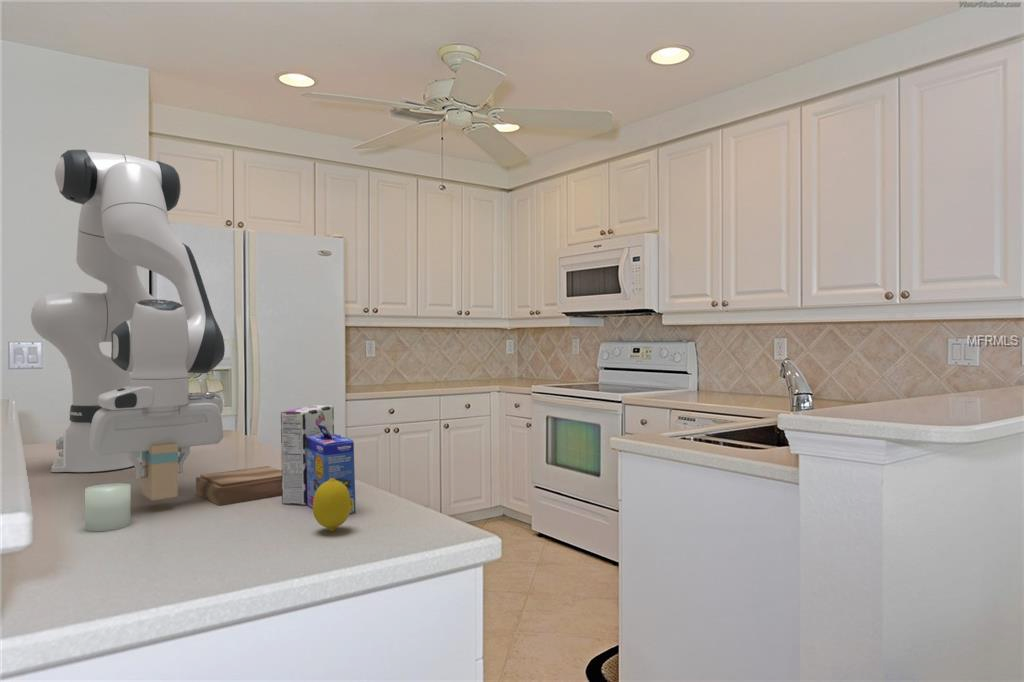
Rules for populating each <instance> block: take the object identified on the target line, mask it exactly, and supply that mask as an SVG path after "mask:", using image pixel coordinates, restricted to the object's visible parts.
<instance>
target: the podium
mask: <svg viewBox="0 0 1024 682" xmlns="http://www.w3.org/2000/svg"><path fill="white" fill-rule="evenodd" d="M195 494H196V495H198V496H200V497H201V498H204V499H206V500H207V501H210V502H211V503H213V504H215V505H217V506H226V505H231V504H236V503H237V504H238V503H242V502H243V503H244V502H249V501H255V500H261V499H267V498H273V497H282V469H277V468H275V467H272V466H269V465H267V466H259V467H257V466H256V467H251V468H243V469H237V470H228V471H221V472H213V473H205V474H204V473H203V474H200V476H198V477H195Z"/></svg>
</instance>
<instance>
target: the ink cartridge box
mask: <svg viewBox="0 0 1024 682" xmlns="http://www.w3.org/2000/svg"><path fill="white" fill-rule="evenodd" d="M317 425H318V427H319V429H320V431H321V432H322V433H323V435H312V436H306V451H307V505H306V506H308V507H310V508H311V509H313V499H314V495H315V493H316V491H317V489H318V487H319V486H320V485H321V484H323V483H324V482H326V481H328V480H329V479H330V478H334V479H335V480H336V481H339V482H341V483H343V484H344V485H345V486H346V487H347V489H348V491H349V494H350V499H351V509H350V514H354V513H356V510H357V505H356V503H357V501H356V474H355V473H356V469H355V467H356V466H355V442H354V440H352V439H351V438H349V437H343V436H341V435H339V434H335V433H334V434H330V433H329V431H328V430H327V428H326V427H325V426H322V425H319V424H317ZM322 429H324V430H325V431H326V432H324V431H323V430H322Z"/></svg>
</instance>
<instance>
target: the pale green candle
mask: <svg viewBox="0 0 1024 682" xmlns="http://www.w3.org/2000/svg"><path fill="white" fill-rule="evenodd" d="M131 490H132V485H131V484H130V483H126V482H125V483H123V482H115V483H114V482H113V483H103V484H95V485H91V486H88V487H85V490H84V530H85V531H86V532H108V531H116V530H119V529H124V528H126V527H128V526H130V525H131V510H132V508H131V505H132V504H131V501H132V500H131V493H132V492H131Z"/></svg>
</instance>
